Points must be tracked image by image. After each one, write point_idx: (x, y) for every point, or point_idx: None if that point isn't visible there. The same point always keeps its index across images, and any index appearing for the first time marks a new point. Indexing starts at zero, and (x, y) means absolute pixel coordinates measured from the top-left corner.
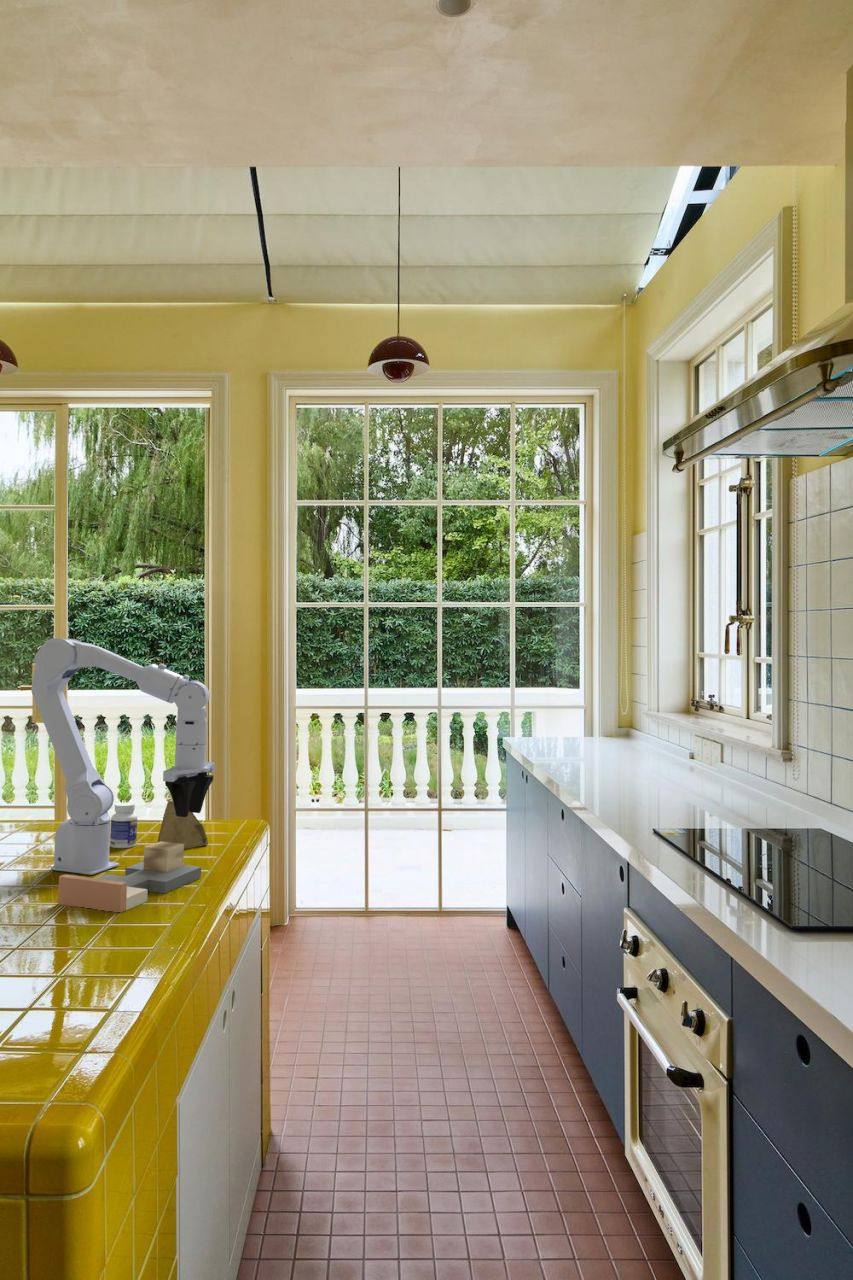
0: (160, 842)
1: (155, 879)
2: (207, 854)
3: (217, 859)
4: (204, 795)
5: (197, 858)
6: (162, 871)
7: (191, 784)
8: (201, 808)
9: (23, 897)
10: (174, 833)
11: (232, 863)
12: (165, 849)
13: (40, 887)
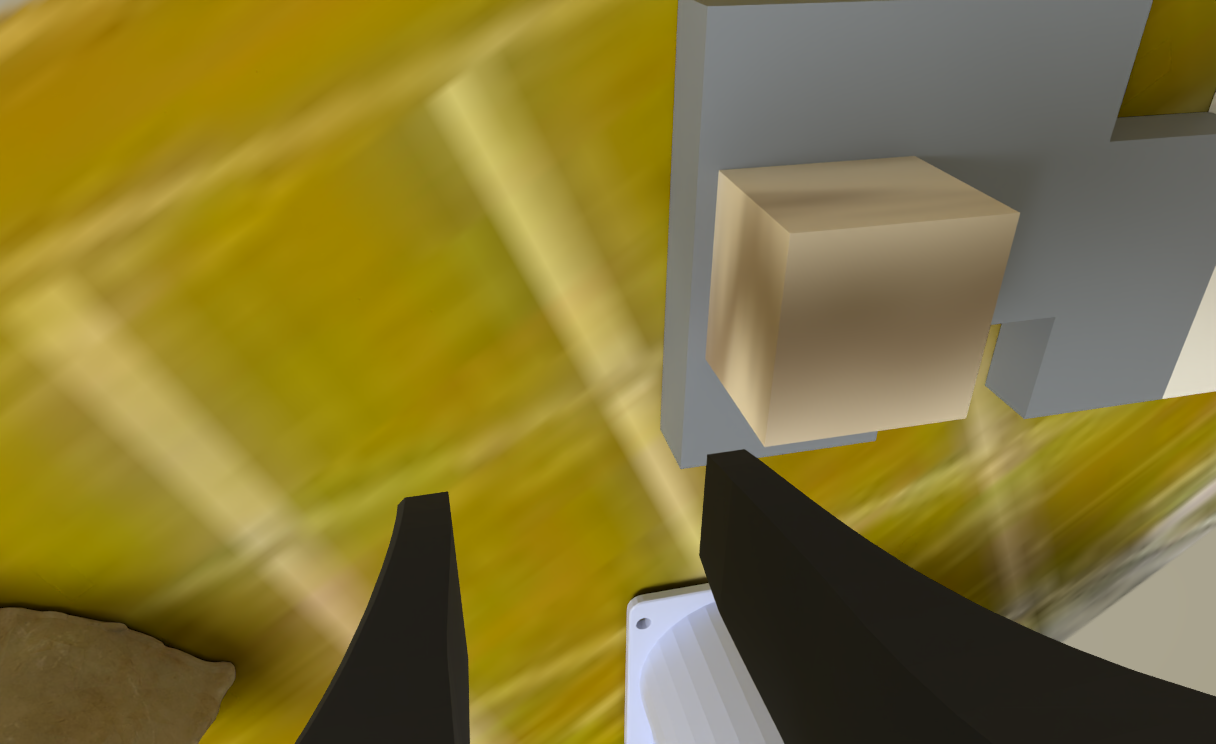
0: (800, 425)
1: (1104, 99)
2: (29, 401)
3: (102, 234)
4: (378, 660)
5: (192, 382)
6: None
7: (1171, 730)
8: (404, 523)
9: (1185, 517)
10: (86, 741)
11: (120, 25)
12: (1012, 237)
13: (1047, 573)
